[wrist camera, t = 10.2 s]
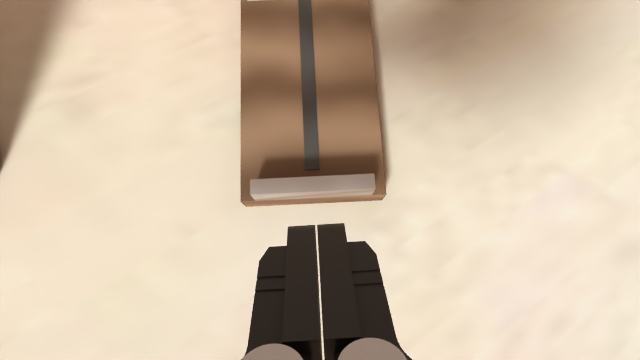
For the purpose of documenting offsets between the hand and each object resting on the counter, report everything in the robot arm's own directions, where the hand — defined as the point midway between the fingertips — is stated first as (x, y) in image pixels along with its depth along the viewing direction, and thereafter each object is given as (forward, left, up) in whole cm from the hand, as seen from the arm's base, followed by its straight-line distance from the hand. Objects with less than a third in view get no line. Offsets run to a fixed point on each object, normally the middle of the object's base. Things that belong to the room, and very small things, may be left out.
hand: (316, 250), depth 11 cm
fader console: (-7, +17, -17) cm, 26 cm away
